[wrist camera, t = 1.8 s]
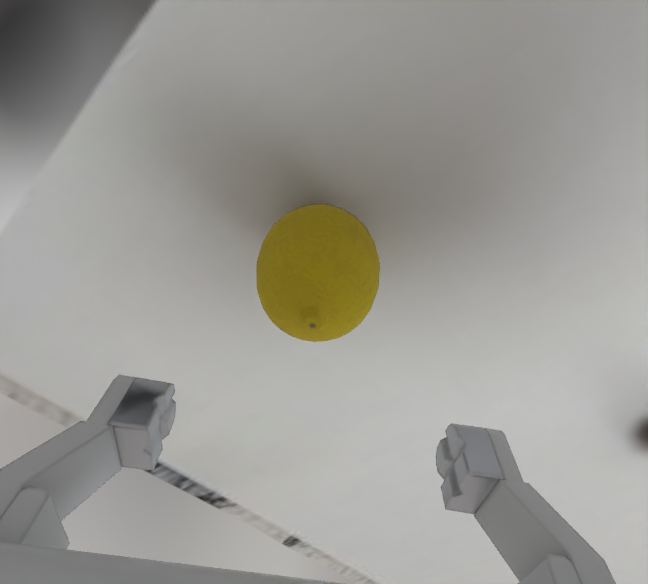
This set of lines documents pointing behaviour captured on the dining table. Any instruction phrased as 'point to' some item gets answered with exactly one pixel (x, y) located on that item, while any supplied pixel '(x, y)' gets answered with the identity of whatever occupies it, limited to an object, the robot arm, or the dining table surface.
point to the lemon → (317, 273)
